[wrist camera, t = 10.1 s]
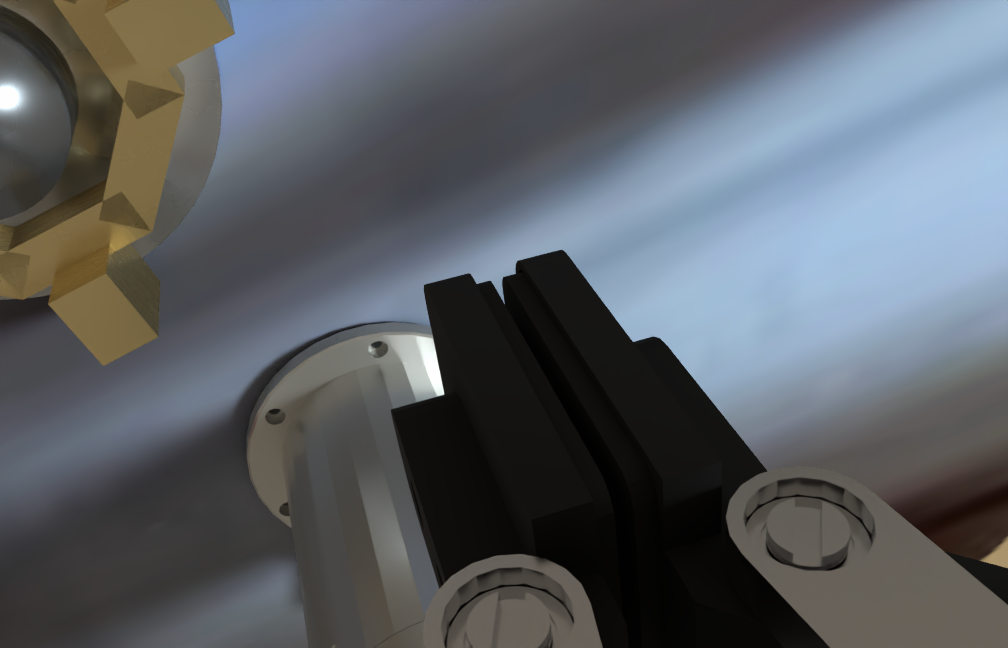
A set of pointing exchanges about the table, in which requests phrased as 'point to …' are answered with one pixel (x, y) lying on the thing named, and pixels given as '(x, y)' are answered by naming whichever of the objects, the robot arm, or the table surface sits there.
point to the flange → (86, 122)
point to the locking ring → (116, 176)
